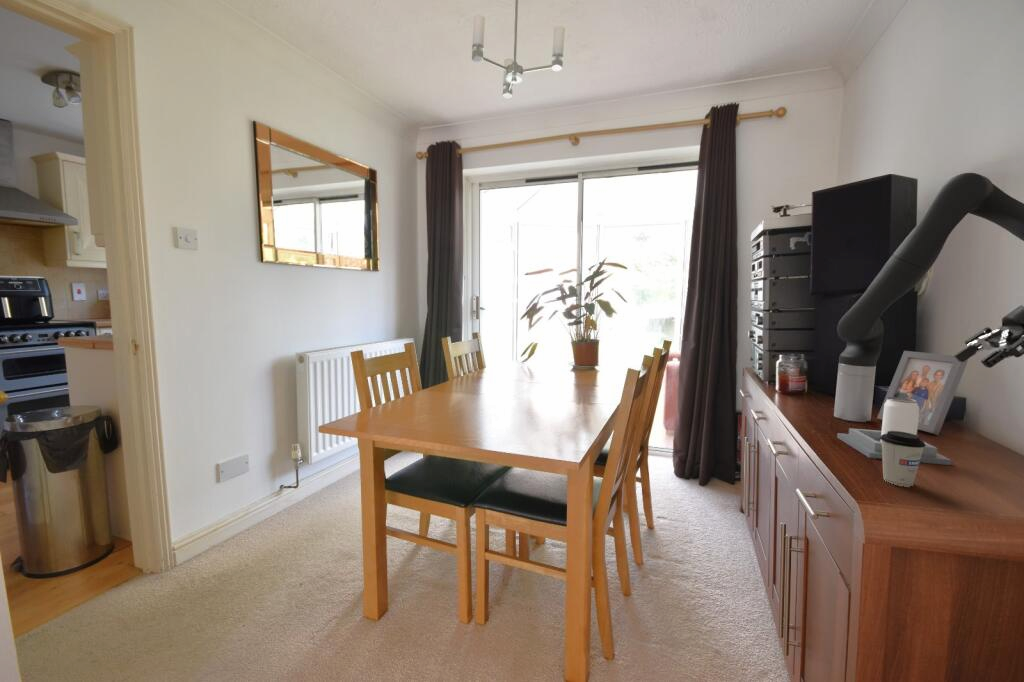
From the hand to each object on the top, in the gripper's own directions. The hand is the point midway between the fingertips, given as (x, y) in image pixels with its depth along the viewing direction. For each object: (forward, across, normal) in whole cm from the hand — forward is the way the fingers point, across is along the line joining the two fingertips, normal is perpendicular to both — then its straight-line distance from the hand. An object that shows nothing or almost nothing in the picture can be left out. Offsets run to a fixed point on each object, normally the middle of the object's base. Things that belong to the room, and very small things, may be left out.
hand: (970, 362), depth 107 cm
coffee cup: (+34, +25, -2) cm, 42 cm away
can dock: (+27, +2, +5) cm, 28 cm away
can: (+26, +4, +5) cm, 26 cm away
